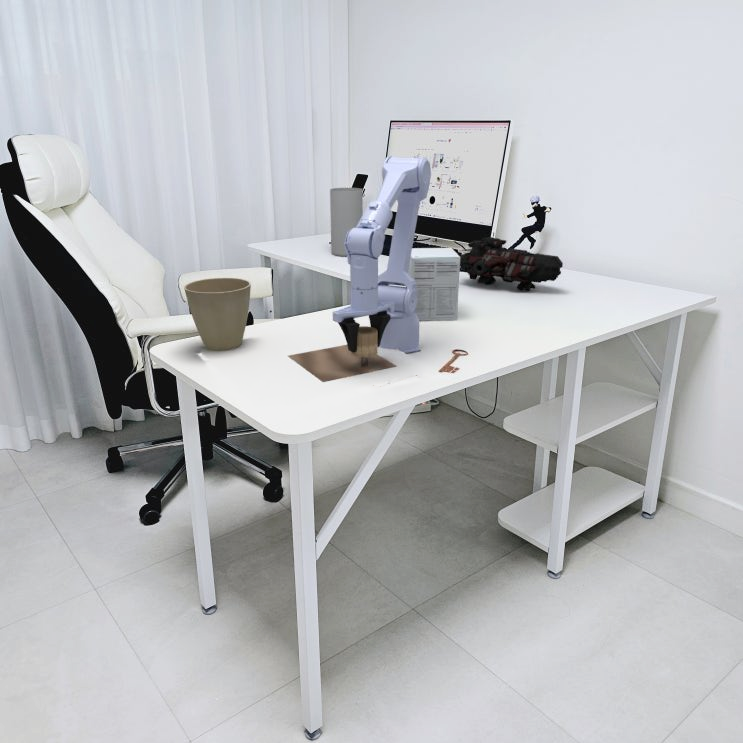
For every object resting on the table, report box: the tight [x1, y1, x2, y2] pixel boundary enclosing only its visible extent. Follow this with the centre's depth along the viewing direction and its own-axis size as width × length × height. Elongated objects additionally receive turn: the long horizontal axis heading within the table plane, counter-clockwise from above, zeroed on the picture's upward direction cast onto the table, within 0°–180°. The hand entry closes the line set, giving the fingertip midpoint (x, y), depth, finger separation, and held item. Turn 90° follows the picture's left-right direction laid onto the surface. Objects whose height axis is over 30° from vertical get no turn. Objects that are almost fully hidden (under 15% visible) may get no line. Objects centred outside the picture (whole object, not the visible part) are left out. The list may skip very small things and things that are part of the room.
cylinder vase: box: [329, 187, 364, 258], centre depth 258 cm, size 12×12×25 cm
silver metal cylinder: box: [361, 357, 368, 367], centre depth 142 cm, size 2×2×6 cm
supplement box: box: [408, 247, 461, 322], centre depth 181 cm, size 13×13×18 cm
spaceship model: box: [460, 236, 564, 292], centre depth 210 cm, size 19×32×15 cm, turn 53°
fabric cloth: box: [287, 344, 398, 383], centre depth 146 cm, size 18×18×2 cm
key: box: [438, 348, 469, 374], centre depth 149 cm, size 6×1×15 cm
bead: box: [351, 325, 379, 357], centre depth 141 cm, size 6×6×5 cm
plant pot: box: [183, 277, 252, 352], centre depth 153 cm, size 15×15×16 cm
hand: (364, 348), depth 141 cm, fingers closed on bead, 5 cm apart
